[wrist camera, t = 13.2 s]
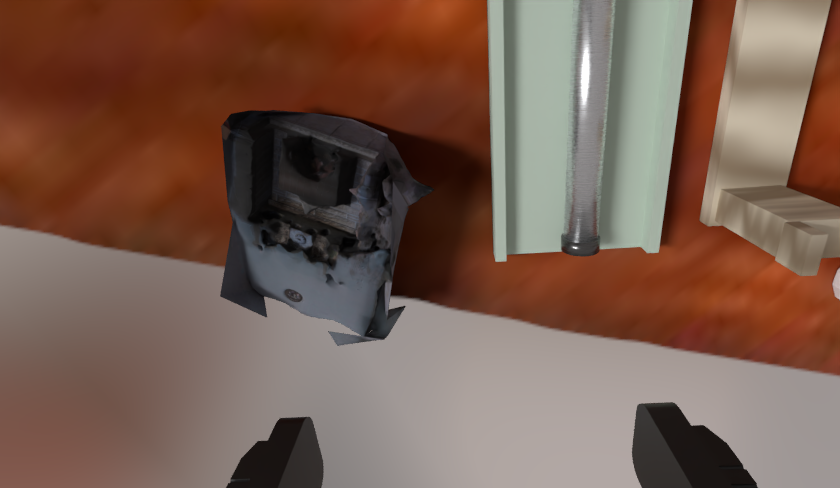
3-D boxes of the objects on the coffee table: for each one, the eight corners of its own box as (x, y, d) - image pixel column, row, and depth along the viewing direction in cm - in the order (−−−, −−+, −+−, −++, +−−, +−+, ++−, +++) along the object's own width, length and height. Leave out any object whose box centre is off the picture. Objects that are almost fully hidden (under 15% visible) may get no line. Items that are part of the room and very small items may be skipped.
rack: (757, -118, 31) (937, -220, 20) (846, -129, 31) (1083, -240, 19) (699, 220, 41) (797, 282, 30) (766, 216, 41) (891, 277, 29)
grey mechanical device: (239, 278, 47) (194, 326, 38) (267, 90, 39) (218, 98, 31) (399, 324, 48) (390, 380, 40) (457, 150, 40) (461, 174, 32)
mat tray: (484, -118, 32) (486, -130, 30) (695, -144, 31) (714, -160, 29) (493, 251, 44) (495, 261, 42) (647, 242, 43) (658, 252, 40)
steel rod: (567, -115, 31) (588, -135, 28) (613, -119, 31) (639, -139, 28) (555, 243, 42) (569, 258, 39) (589, 239, 42) (606, 253, 39)
